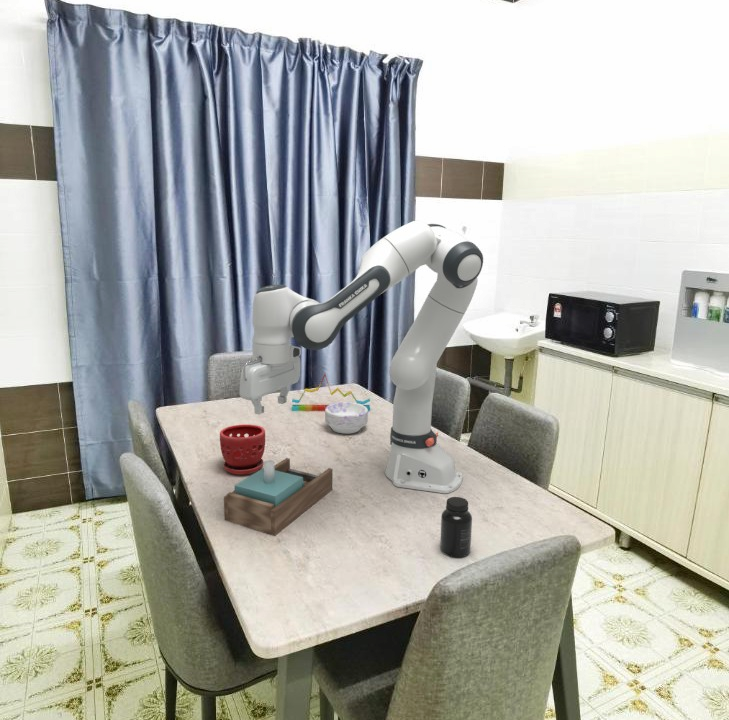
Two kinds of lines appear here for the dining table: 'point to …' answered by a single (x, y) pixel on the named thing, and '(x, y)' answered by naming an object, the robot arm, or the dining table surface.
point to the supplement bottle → (456, 528)
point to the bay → (285, 513)
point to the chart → (322, 407)
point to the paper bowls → (346, 417)
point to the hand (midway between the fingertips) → (271, 408)
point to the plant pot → (242, 448)
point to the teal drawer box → (269, 485)
